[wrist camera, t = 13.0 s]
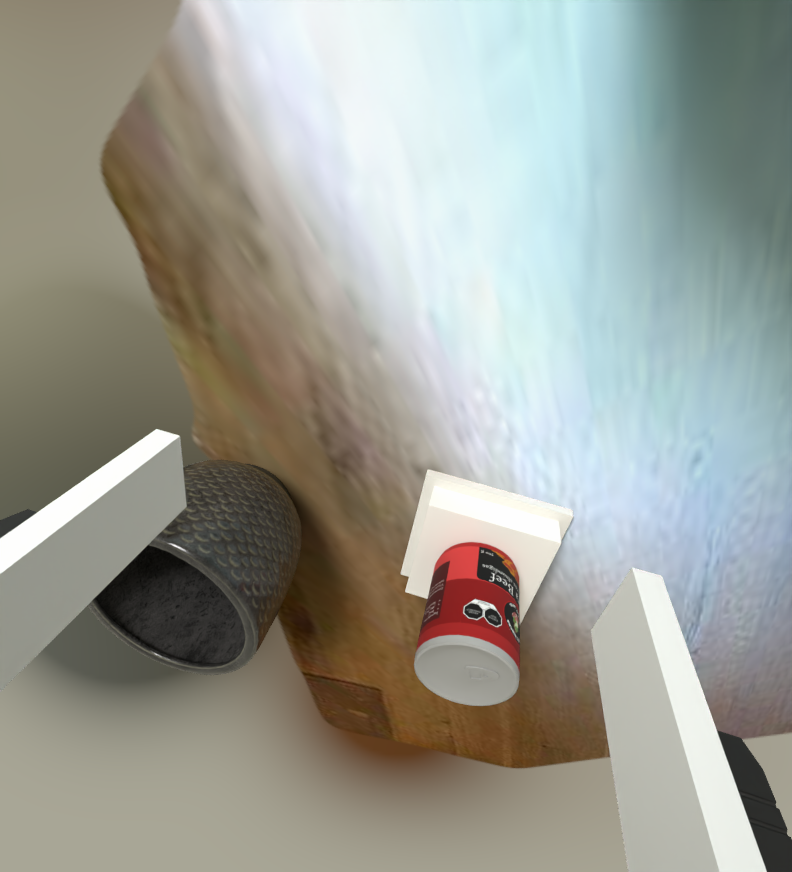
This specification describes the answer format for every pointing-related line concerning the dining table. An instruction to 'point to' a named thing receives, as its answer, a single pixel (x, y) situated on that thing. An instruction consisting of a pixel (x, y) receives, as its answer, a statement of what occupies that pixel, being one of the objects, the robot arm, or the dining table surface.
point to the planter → (209, 572)
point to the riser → (483, 530)
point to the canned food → (471, 627)
